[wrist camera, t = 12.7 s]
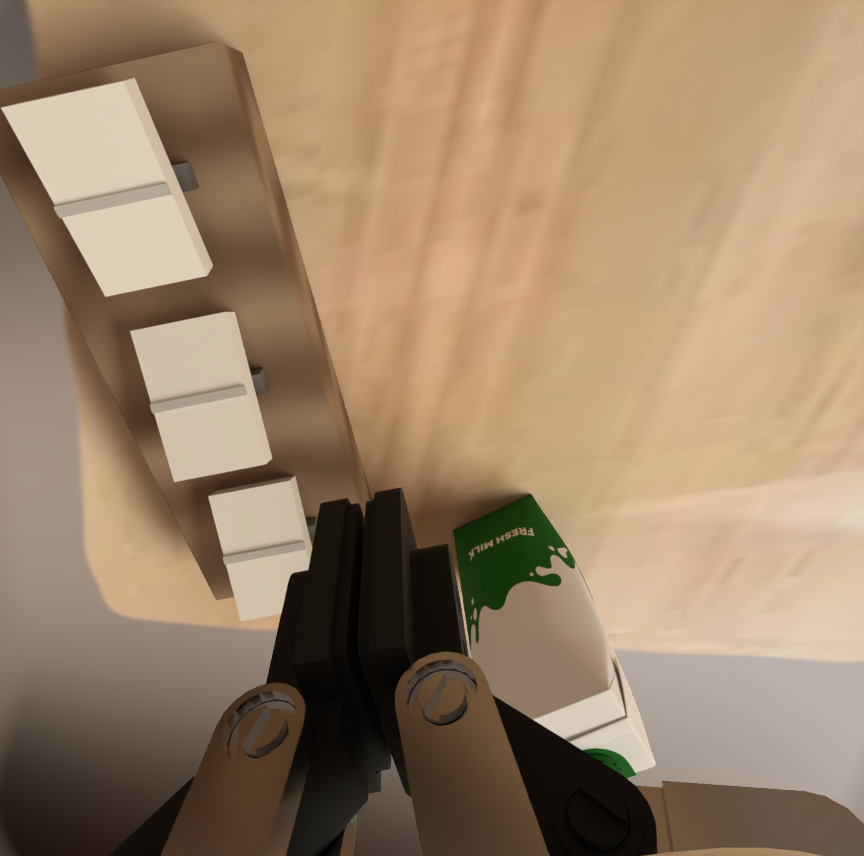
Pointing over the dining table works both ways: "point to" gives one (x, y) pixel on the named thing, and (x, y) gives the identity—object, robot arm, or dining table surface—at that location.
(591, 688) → the milk carton
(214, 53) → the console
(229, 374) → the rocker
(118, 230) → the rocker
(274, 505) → the rocker
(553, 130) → the dining table surface
